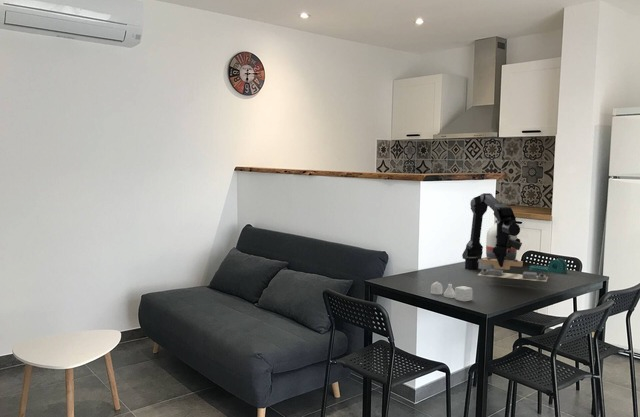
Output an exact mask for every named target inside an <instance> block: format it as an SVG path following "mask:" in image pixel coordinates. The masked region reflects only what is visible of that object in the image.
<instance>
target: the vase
mask: <svg viewBox="0 0 640 417" xmlns="http://www.w3.org/2000/svg"><path fill="white" fill-rule="evenodd" d="M496 235H497V223H494V224H493V225H492V226H490V227H489V228H488V230H487V232H486V237H485V238H486V240H485V241H486V242H485V243H486V244H485V245H486V246H485V256H486V258H487V257H490V258H491V259H497V258H496V256H495V254H494V253H493V248H494V247H496ZM510 236H511V239H514V240H516V239H517V238H518V235H516V236H512V235H510ZM507 249H508V250H511V251H510V252H509V253H508V254H507V256H506V259H505V260H514V259H516V258H517V253H518V252H517V251H518V250H516V249H515V248H512V249H510V248H507Z"/></svg>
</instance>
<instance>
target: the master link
mask: <svg viewBox="0 0 640 417" xmlns="http://www.w3.org/2000/svg"><path fill="white" fill-rule="evenodd" d="M523 262H524V261H523V260H518V258H517V259H514V260H504V263H503V267H500V265H499V263H498V260H497V259H491V258H490V257H487V256H486V258H485V257H484V258H481V264H482V265H493V269H501V270H506V271H507V270H510V269H511V267H521V268H522V267H523V264H524V263H523Z"/></svg>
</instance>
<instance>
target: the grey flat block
mask: <svg viewBox="0 0 640 417" xmlns="http://www.w3.org/2000/svg"><path fill="white" fill-rule="evenodd" d="M522 275H523V278H527V279H536V278H537V276H538V280H545V278H546V277H547V276H546V274H545V273H539V274H538V272H536V271H535V272H534V271H523V272H522Z"/></svg>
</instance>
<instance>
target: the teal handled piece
mask: <svg viewBox="0 0 640 417" xmlns="http://www.w3.org/2000/svg"><path fill="white" fill-rule="evenodd" d="M547 265H548V266H541V265H529V271H531V272H534V271H535V272H545V273H547V272H548V273H553V274H561V275H562V274H568V273H567V272H568V264H567V261H566V260H565V258H556V259H552V260H550V261H549V262H548V264H547Z"/></svg>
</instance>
